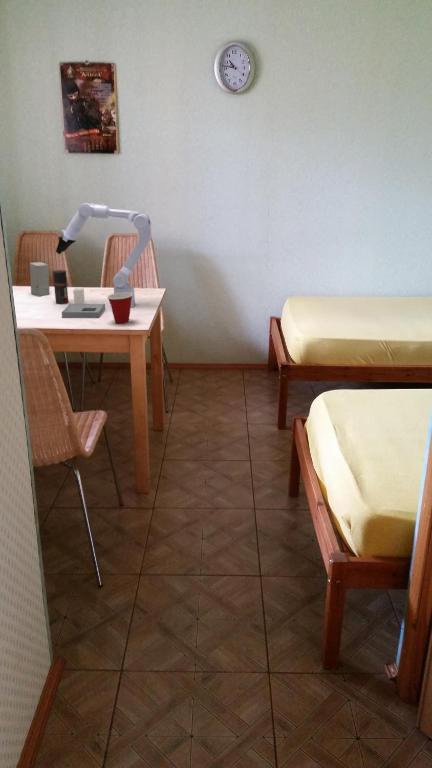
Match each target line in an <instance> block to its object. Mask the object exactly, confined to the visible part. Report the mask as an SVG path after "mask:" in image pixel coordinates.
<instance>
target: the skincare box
mask: <svg viewBox="0 0 432 768" xmlns="http://www.w3.org/2000/svg"><path fill="white" fill-rule="evenodd" d="M49 271H50V268H49V264H47V263H45V262H41V261H39V262H38V261H37V262H30V263H29V274H30V275H29V276H30V278H29V279H30V294H31V295H33V296H37V297H44V296H50V295H51V294H50V272H49Z"/></svg>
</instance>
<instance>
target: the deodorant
mask: <svg viewBox="0 0 432 768" xmlns="http://www.w3.org/2000/svg"><path fill="white" fill-rule="evenodd" d="M52 277H53V278H52V279H53V288H54V297H55V298H54V299H55V304H56V305H65V304H69V294H68V293H69V292H68V282H67V271H66V270H61V269H60V270H58V269H57V270H53V271H52Z"/></svg>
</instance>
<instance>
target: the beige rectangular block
mask: <svg viewBox="0 0 432 768" xmlns="http://www.w3.org/2000/svg"><path fill="white" fill-rule="evenodd" d="M72 293H73V304H86V302H85V301H86V300H85V289H84V287H83V288H73V290H72Z"/></svg>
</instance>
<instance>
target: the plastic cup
mask: <svg viewBox="0 0 432 768" xmlns="http://www.w3.org/2000/svg"><path fill="white" fill-rule="evenodd" d="M132 295H133V294H132V293H127V292H124V293H115V294H114V293H112V294H109V295H107V296H106V298H107V299H108V301H109V304H110V308H111V312H112V315H113V319H114V322H115V324H119V325H120V324H127V323H129V321H130V314H131V309H132V307H131V299H132Z"/></svg>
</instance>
